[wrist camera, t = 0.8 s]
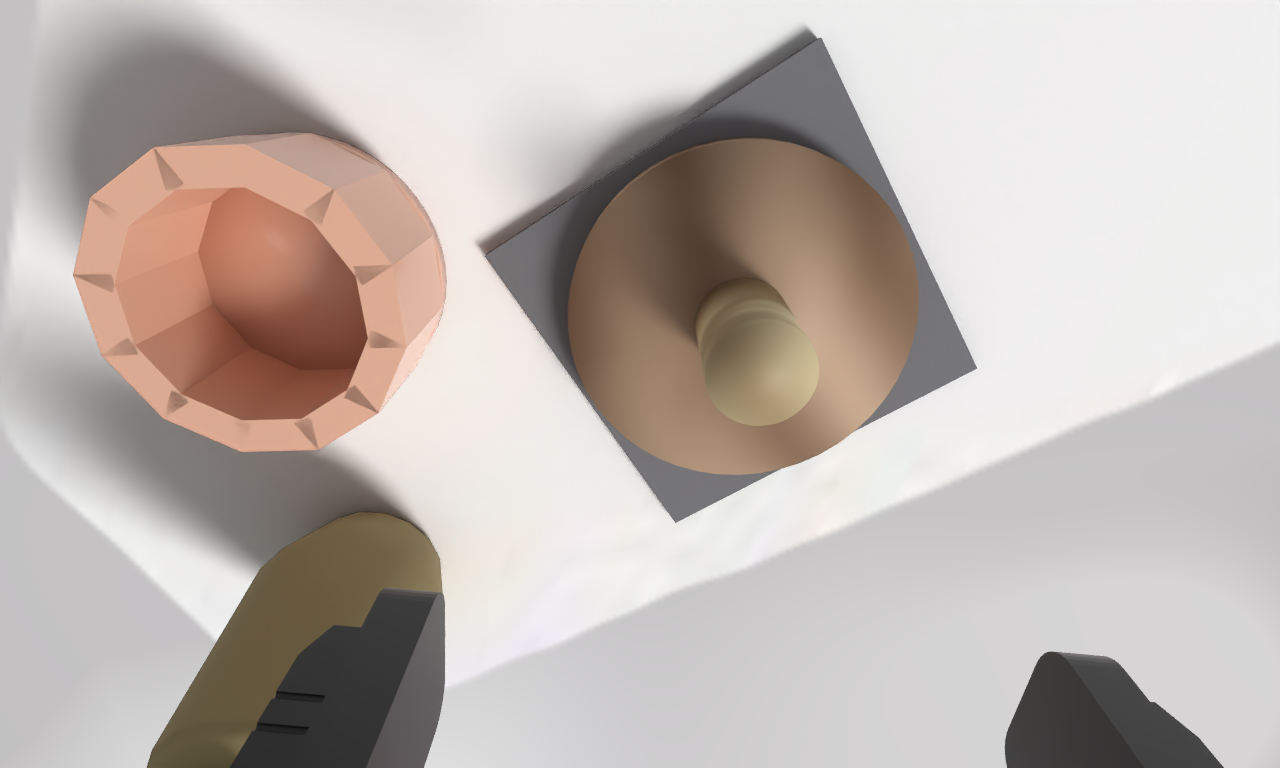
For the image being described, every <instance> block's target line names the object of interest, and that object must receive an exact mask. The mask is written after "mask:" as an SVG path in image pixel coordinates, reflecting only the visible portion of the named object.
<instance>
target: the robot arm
mask: <svg viewBox="0 0 1280 768" xmlns="http://www.w3.org/2000/svg"><path fill="white" fill-rule="evenodd" d="M444 684H445V601H444V595H443V593H441V592H433V591H422V590H411V589H401V588H390V587H385V588H383V589H382V590H381V592H380V593H379V595H378V596H377V598H376V600H375V602H374V604H373V606H372V608H371V609H370V611H369V613H368V615H367V617H366V619H365V621H364V623H363V625H362V627H351V626H340V625H333V626H332V627H331V628H330V629H328V630H327V631H326V632H325V633H323V634H322V635H321V636H320V637H319V638H317V639H316V640H315V641H314V642H313V643H311V644H310V645H309V646H308V647H307V648H305V649H304V650H303V651H302V652H301V653H299V654H298V656H297V657H296V659H295V661H294V662H293V664H292V666H291V667H290V669H289V671H288V672H287V674H286V676H285V677H284V679H283V681H282V682H281V684H280V685H279V687H278V689H277V690H276V696H275V698H274V699H271V700H270V702H269V704H268V705H267V707H266V709H265V710H264V712H263V714H262V715H261V717H260V718H259V720H258V722H257V727H256V729H255V731H252V732H251V733H250V735H249V737H248V738H247V740H246V742H245V743H244V745H243V746H242V748H241V750H240V751H239V753H238V755H237V756H236V758H235V760H234V761H233V763H232V765H231V766H230V768H424V765H425V762H426V759H427V756H428V753H429V750H430V747H431V744H432V741H433V738H434V735H435V731H436V728H437V724H438V721H439V716H440V712H441V706H442V701H443V694H444ZM1005 756H1006V763H1007V768H1224V767H1223V766H1222V765H1221V764H1220V763H1219V761H1218V760H1217V759H1216V758H1215V757H1214V756H1213V754H1212V753H1211V752H1210V751H1209V750H1208V748H1207V747H1206V746H1205V745H1204V743H1203V742H1202V741H1201V740H1200V739H1199V738H1198V737H1197V736H1196V735H1195V734H1193V733H1192V732H1191V731H1190V730H1188V729H1187V728H1186V727H1185V726H1183V725H1182V724H1181V723H1180V722H1179V721H1177V720H1176V719H1175V718H1174V717H1172V716H1171V715H1170V714H1169V713H1167V712H1166V711H1165V710H1164V709H1163V708H1161V707H1160V706H1159V705H1158V704H1156V703H1155V702H1150V701H1149V700H1148V699H1147V697H1146V696H1145V695H1144V694H1143V692H1142V691H1141V690H1140V689H1139V687H1138V686H1137V685H1136V684H1135V682H1134V681H1133V680H1132V679H1131V678H1130V676H1129V675H1128V674H1127V672H1126V671H1125V670H1124V669H1123V668H1122V667H1121V665H1120V664H1119V663H1117V662H1116V661H1115V660H1113V659H1111V658H1108V657H1105V656H1093V655H1084V654H1073V653H1062V652H1047V653H1045V654H1044V655H1043V656H1041V657H1040V659H1039V660H1038V662H1037V664H1036V666H1035V668H1034V671H1033V673H1032V675H1031V678H1030V680H1029V683H1028V685H1027V687H1026V689H1025V692H1024V694H1023V696H1022V699H1021V701H1020V703H1019V705H1018V708H1017V710H1016V712H1015V715H1014V717H1013V719H1012V722H1011V724H1010V726H1009V728H1008V731H1007V735H1006V740H1005Z"/></svg>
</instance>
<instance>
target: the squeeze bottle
mask: <svg viewBox="0 0 1280 768" xmlns="http://www.w3.org/2000/svg"><path fill="white" fill-rule="evenodd" d="M385 587H390V588H401V589H411V590H422V591H433V592H441V593H442V580H441V567H440V558H439V556H438V554H437V553H436V551H435V549H434V547H433V545H432V544H431V542H430V540H429V539H428V538H427V537H426V536H425V535H424V534H422V533H421V532H420V531H419V530H418V529H416V528H415V527H414V526H413V525H412V524H410V523H409V522H406V521H404V520H401V519H398V518H396V517H393V516H391V515H388V514H386V513H371V512H357V513H354V514H351V515H347V516H344V517H341V518H338V519H335V520H333V521H332V522H330V523H328V524H326V525H324V526H323V527H321V528H319V529H317V530H315V531H313V532H312V533H310V534H308V535H306V536H304V537H303V538H301V539H299V540H297V541H295V542H293V543H292V544H290V545H288V546H286V547H284V548H283V549H282V550H281V551H280V552H279V553H278V554H276V555H275V556H274V557H273V558H272V559H271V560H270V561H268V562H267V563H266V564H265V565H264V566H263V567H262V568H261V569H260V570H259V572H258V573H257V575H256V577H255V578H254V580H253V582H252V583H251V585H250V587H249V588H248V590H247V592H246V593H245V595H244V597H243V599H242V600H241V602H240V604H239V605H238V607H237V609H236V610H235V612H234V614H233V615H232V617H231V619H230V620H229V622H228V624H227V625H226V627H225V629H224V630H223V632H222V634H221V635H220V637H219V639H218V640H217V642H216V644H215V646H214V647H213V649H212V651H211V652H210V654H209V656H208V657H207V659H206V661H205V662H204V664H203V666H202V667H201V669H200V671H199V672H198V674H197V676H196V677H195V679H194V681H193V682H192V684H191V686H190V687H189V689H188V691H187V692H186V694H185V696H184V697H183V699H182V701H181V702H180V704H179V706H178V708H177V709H176V711H175V713H174V714H173V716H172V718H171V719H170V721H169V723H168V724H167V726H166V728H165V730H164V731H163V733H162V734H161V736H160V738H159V739H158V741H157V743H156V744H155V746H154V748H153V749H152V752H151V755H150V759H149V762H148V765H147V768H230V766H231V765H232V763H233V761H234V760H235V758H236V756H237V755H238V753H239V751H240V750H241V748H242V746H243V745H244V743H245V742H246V740H247V738H248V737H249V735H250V733H251V732H252V731H255V729H256V727H257V722H258V720H259V718H260V717H261V715H262V714H263V712H264V710H265V709H266V707H267V705H268V704H269V702H270V700H271V699H274V698H275V696H276V690H277V689H278V687H279V685H280V684H281V682H282V681H283V679H284V677H285V676H286V674H287V672H288V671H289V669H290V667H291V666H292V664H293V662H294V661H295V659H296V657H297V656H298V654H299V653H301V652H302V651H303V650H304V649H305V648H307V647H308V646H309V645H310V644H311V643H313V642H314V641H315V640H316V639H317V638H319V637H320V636H321V635H322V634H323V633H325V632H326V631H327V630H328V629H330V628H331V627H332V626H333V625H340V626H351V627H362V625H363V623H364V621H365V619H366V617H367V615H368V613H369V611H370V609H371V608H372V606H373V604H374V602H375V600H376V598H377V596H378V595H379V593H380V592H381V590H382V589H383V588H385Z"/></svg>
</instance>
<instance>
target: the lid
mask: <svg viewBox="0 0 1280 768" xmlns="http://www.w3.org/2000/svg"><path fill="white" fill-rule="evenodd" d="M918 307H919V289H918V277H917V271H916V266H915V262H914V258H913V253H912V250H911V248H910V245H909V243H908V240H907V237H906V235H905V232H904V230H903V228H902V227H901V225H900V223H899V221H898V220H897V218H896V216H895V214H894V213H893V211H892V210H891V209H890V207H889V206H888V205H887V203H886V202H885V201H884V200H883V198H882V197H881V196H880V195H879V193H878V192H877V191H876V190H874V189H873V188H872V187H871V186H870V185H869V184H868V183H867V182H866V181H865V180H864V179H863V178H862V177H860V176H859V175H858V174H856V173H855V172H853V171H852V170H850V169H849V168H848V167H846V166H845V165H843V164H842V163H840V162H838V161H836V160H834V159H832V158H830V157H828V156H826V155H824V154H822V153H820V152H817V151H815V150H813V149H810V148H807V147H804V146H801V145H798V144H794V143H791V142H787V141H781V140H776V139H770V138H756V137H738V138H728V139H718V140H714V141H710V142H706V143H702V144H697V145H694V146H691V147H689V148H686V149H684V150H681V151H678V152H676V153H673V154H671V155H669V156H667V157H666V158H664V159H662V160H660V161H658V162H657V163H655V164H653V165H651V166H650V167H648V168H647V169H646V170H644V171H643V172H642V173H640V174H639V175H637V176H636V177H635V178H633V179H632V180H631V181H630V182H629V183H628V184H627V185H626V186H625V187H624V188H623V189H622V190H621V191H620V192H618V193H617V194H616V195H615V196H614V198H613V199H612V200H611V201H610V203H609V204H608V205H607V206H606V208H605V209H604V210H603V212H602V213H601V214H600V215H599V217H598V219H597V221H596V222H595V224H594V226H593V227H592V229H591V231H590V232H589V234H588V236H587V239H586V241H585V243H584V246H583V248H582V250H581V253H580V255H579V258H578V260H577V263H576V267H575V271H574V274H573V278H572V282H571V286H570V294H569V302H568V332H569V339H570V346H571V351H572V355H573V358H574V361H575V365H576V368H577V371H578V373H579V376H580V378H581V380H582V382H583V385H584V387H585V389H586V391H587V392H588V394H589V396H590V397H591V399H592V400H593V402H594V404H595V405H596V407H597V408H598V409H599V411H600V412H601V413H602V414H603V415H604V417H605V418H606V419H607V420H608V422H609V423H610V424H611V425H612V426H614V427H615V428H616V429H617V430H618V431H619V432H620V433H621V434H622V435H623V436H624V437H626V438H627V439H628V440H630V441H631V442H632V443H634V444H635V445H637V446H638V447H639V448H641V449H643V450H644V451H646V452H648V453H650V454H652V455H653V456H655V457H657V458H659V459H661V460H664V461H666V462H669V463H671V464H674V465H676V466H680V467H683V468H687V469H691V470H694V471H699V472H706V473H713V474H726V475H743V474H756V473H763V472H768V471H773V470H778V469H782V468H785V467H788V466H792V465H795V464H798V463H801V462H803V461H805V460H808V459H810V458H812V457H814V456H817V455H819V454H821V453H822V452H824V451H826V450H828V449H829V448H831V447H833V446H834V445H836V444H838V443H839V442H841V441H842V440H843V439H845V438H846V437H847V436H849V435H850V434H851V433H853V432H854V431H855V430H856V429H857V428H859V427H860V426H861V425H862V424H863V423H864V422H865V421H866V420H867V419H868V418H869V417H870V416H871V415H872V414H873V413H874V412H875V410H876V409H877V408H878V407H879V406H880V404H881V403H882V402H883V401H884V400H885V398H886V397H887V395H888V394H889V392H890V391H891V389H892V388H893V386H894V384H895V383H896V381H897V380H898V378H899V375H900V373H901V371H902V369H903V367H904V365H905V363H906V361H907V358H908V355H909V352H910V349H911V346H912V343H913V340H914V335H915V330H916V325H917V320H918Z"/></svg>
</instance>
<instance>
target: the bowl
mask: <svg viewBox="0 0 1280 768" xmlns="http://www.w3.org/2000/svg"><path fill="white" fill-rule="evenodd" d="M73 276H74V279H75V282H76V285H77V288H78V291H79V293H80V296H81V299H82V302H83V305H84V307H85V310H86V313H87V316H88V319H89V321H90V324H91V327H92V330H93V333H94V336H95V338H96V341H97V344H98V347H99V350H100V352H101V356H102V357H103V358H104V359H105V360H106V361H107V362H108V363H109V364H110V365H111V366H112V367H113V368H114V369H115V370H116V371H117V372H118V373H119V374H120V375H121V376H122V377H123V378H124V379H125V380H126V381H127V382H128V383H129V384H130V385H131V386H132V387H133V388H134V389H135V390H136V391H137V392H138V393H139V394H140V395H141V396H142V397H143V398H144V399H145V400H146V401H147V402H148V403H149V404H150V405H151V407H152V408H153V409H154V410H155V411H156V412H157V413H158V414H159V415H160V416H161V417H162V418H163V419H165V420H168V421H170V422H172V423H175V424H177V425H179V426H182V427H184V428H186V429H189V430H191V431H193V432H196V433H198V434H200V435H203V436H205V437H207V438H210V439H212V440H214V441H217V442H219V443H222V444H224V445H226V446H229V447H231V448H233V449H236V450H238V451H240V452H260V451H300V450H319V449H321V448H322V447H324V446H326V445H327V444H329V443H331V442H332V441H334V440H335V439H337V438H339V437H340V436H342V435H344V434H345V433H347V432H348V431H350V430H352V429H353V428H355V427H357V426H358V425H360V424H361V423H363V422H365V421H366V420H368V419H370V418H371V417H373V416H374V415H376V414H378V413H379V412H380V411H381V409H382V408H383V407H384V406H385V404H386V403H387V402H388V401H389V399H390V398H391V397H392V396H393V394H394V393H395V392H396V391H397V389H398V388H399V387H400V386H401V384H402V383H403V382H404V381H405V379H406V378H407V377H408V376H409V374H410V373H411V372H412V371H413V369H414V368H415V367H416V366H417V364H418V363H419V360H420V358H421V356H422V353H423V351H424V349H425V347H426V345H427V344H428V343H429V341H430V340H431V338H432V336H433V334H434V333H435V331H436V329H437V327H438V324H439V321H440V319H441V316H442V313H443V308H444V303H445V298H446V283H447V280H446V267H445V261H444V256H443V251H442V247H441V244H440V241H439V239H438V236H437V233H436V230H435V228H434V226H433V224H432V222H431V220H430V218H429V216H428V214H427V213H426V211H425V209H424V208H423V206H422V205H421V203H420V202H419V200H418V199H417V198H416V196H415V195H414V194H413V193H412V191H411V190H410V189H409V188H408V187H407V185H406V184H405V183H404V182H403V181H402V180H401V179H400V178H399V177H398V176H397V175H395V174H394V173H393V172H392V171H391V170H390V169H389V168H387V167H386V166H385V165H383V164H382V163H381V162H379V161H378V160H377V159H375V158H374V157H372V156H370V155H369V154H367V153H365V152H363V151H362V150H360V149H358V148H356V147H353V146H351V145H349V144H347V143H344V142H342V141H339V140H336V139H332V138H329V137H326V136H321V135H315V134H313V133H296V132H285V133H275V134H267V135H238V136H229V137H222V138H214V139H207V140H200V141H193V142H186V143H179V144H172V145H165V146H158V147H153V148H152V149H151V150H149V151H148V152H147V153H146V154H144V155H143V156H142V157H140V158H139V159H138V160H137V161H135V162H134V163H133V164H132V165H130V166H129V167H128V168H127V169H125V170H124V171H123V172H121V173H120V174H119V175H118V176H116V177H115V178H114V179H113V180H111V181H110V182H109V183H108V184H106V185H105V186H104V187H103V188H101V189H100V190H99V191H97V192H96V193H95V194H94V195H92V196H91V197H90V200H89V205H88V209H87V214H86V218H85V223H84V227H83V232H82V236H81V241H80V246H79V250H78V255H77V259H76V264H75V268H74V273H73Z"/></svg>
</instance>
